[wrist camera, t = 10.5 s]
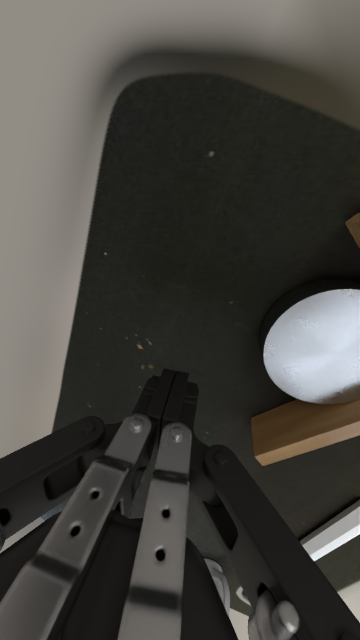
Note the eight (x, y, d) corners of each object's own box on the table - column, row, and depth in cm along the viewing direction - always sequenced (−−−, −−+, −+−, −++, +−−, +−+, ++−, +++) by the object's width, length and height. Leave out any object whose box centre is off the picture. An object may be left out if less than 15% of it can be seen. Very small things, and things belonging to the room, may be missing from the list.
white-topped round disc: (237, 321, 24) (238, 336, 21) (355, 251, 19) (375, 258, 17) (295, 398, 26) (302, 420, 23) (410, 351, 22) (436, 371, 19)
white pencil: (290, 543, 38) (362, 494, 31) (303, 556, 37) (380, 509, 30) (286, 558, 36) (362, 509, 29) (299, 573, 35) (381, 526, 28)
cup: (178, 561, 45) (167, 632, 38) (209, 544, 41) (205, 621, 33) (210, 580, 46) (207, 653, 38) (245, 565, 42) (249, 645, 34)
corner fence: (177, 332, 25) (166, 358, 21) (364, 208, 18) (409, 208, 14) (257, 426, 28) (262, 466, 24) (442, 352, 21) (499, 391, 17)
